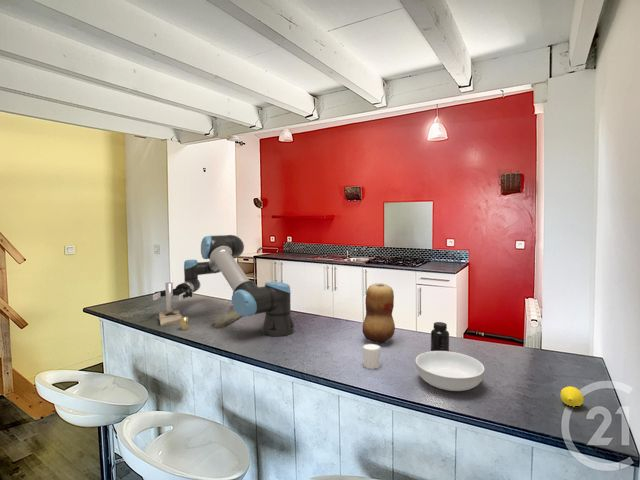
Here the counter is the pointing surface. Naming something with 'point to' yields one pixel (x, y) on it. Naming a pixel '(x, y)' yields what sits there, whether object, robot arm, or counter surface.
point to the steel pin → (169, 299)
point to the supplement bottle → (440, 337)
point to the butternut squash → (379, 313)
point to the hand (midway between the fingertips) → (166, 297)
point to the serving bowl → (449, 370)
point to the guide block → (170, 318)
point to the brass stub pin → (184, 323)
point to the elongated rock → (226, 318)
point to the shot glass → (371, 355)
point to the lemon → (571, 396)
